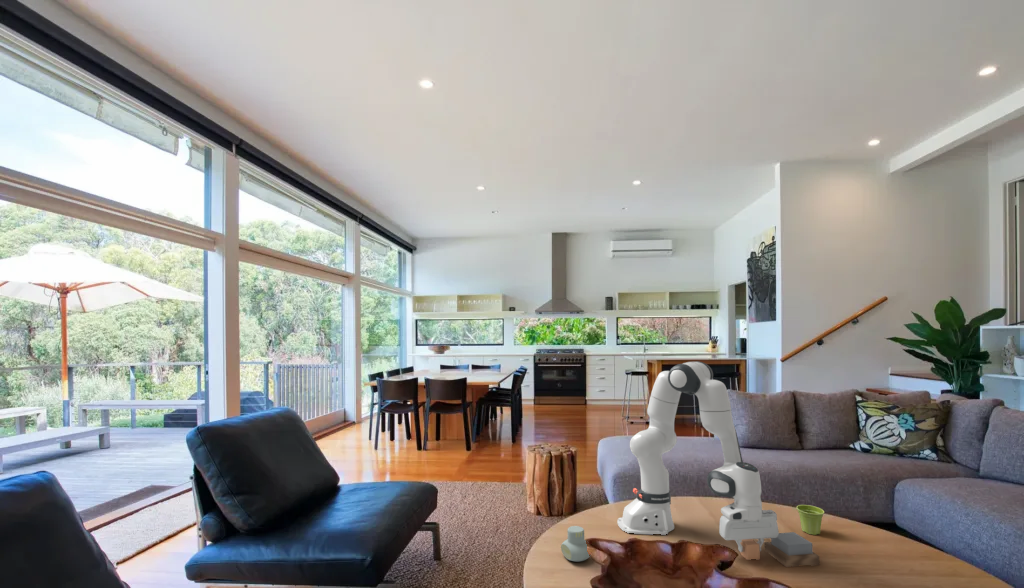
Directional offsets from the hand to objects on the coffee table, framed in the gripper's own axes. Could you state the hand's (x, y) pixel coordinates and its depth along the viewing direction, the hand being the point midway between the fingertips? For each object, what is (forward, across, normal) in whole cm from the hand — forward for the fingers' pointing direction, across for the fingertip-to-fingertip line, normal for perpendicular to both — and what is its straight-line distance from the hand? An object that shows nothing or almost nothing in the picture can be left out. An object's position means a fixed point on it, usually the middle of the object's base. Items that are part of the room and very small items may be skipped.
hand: (749, 550), depth 173 cm
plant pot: (+2, -35, -17) cm, 39 cm away
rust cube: (+2, 0, 0) cm, 2 cm away
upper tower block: (-1, -14, +2) cm, 14 cm away
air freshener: (+2, +61, -5) cm, 61 cm away
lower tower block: (+2, -14, +2) cm, 14 cm away
